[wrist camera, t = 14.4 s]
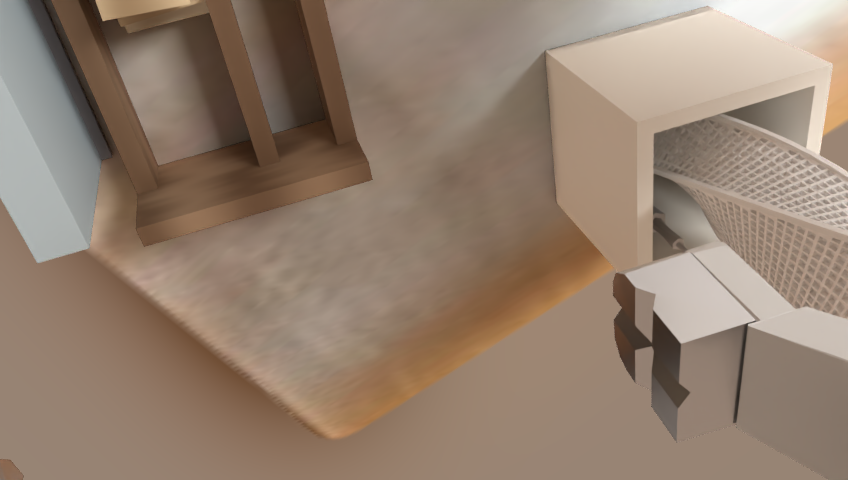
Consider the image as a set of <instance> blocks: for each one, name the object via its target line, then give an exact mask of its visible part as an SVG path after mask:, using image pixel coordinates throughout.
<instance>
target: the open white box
mask: <svg viewBox="0 0 848 480" xmlns="http://www.w3.org/2000/svg"><path fill="white" fill-rule="evenodd" d="M545 57H546V70H547V83H548V96H549V110H550V123H551V136H552V149H553V162H554V175H555V188H556V201H557V204H558V205H559V206H560V207H561V208H562V209H563V211H564V212H565V213H566V214H567V215H568V216H569V217H570V218H571V220H572V221H573V222H574V223H575V224H576V225H577V226H578V228H579V229H580V230H581V231H582V232H583V233H584V234H585V235H586V237H587V238H588V239H589V240H590V241H591V242H592V243H593V245H594V246H595V247H596V248H597V249H598V250H599V251H600V252H601V254H602V255H603V256H604V257H605V258H606V259H607V260H608V262H609V263H610V264H611V265H612V266H613V267H614V268H615V269H616V270H617V272H620V271H623V270H626V269H630V268H633V267H636V266H639V265H643V264H646V263H649V262H652V261H655V260H659V259H662V258H665V257H668V256H671V255H675V254H678V253H683V252H682V251H681V250H680V249H673V248H672V247H671V246H670V245H669V243H668V242H667V241H666V240H665V238H664V237H663V236H662V235H661V234H659V233H658V232H656V233H655V232H653V205H654V206H655V207H656V208H657V209H659V210H660V211H661V212H663V213H664V214H665V222H666V225H667V226H668V227H669V228H670V229H671V230H672V231H673V232H675V233H676V234H677V235H679V236H680V237H681V238H682V239H684V246H685V247H686V248H687V249H688V250H689V249H692V248H695V247H698V246H702V245H705V244H708V243H711V242H714V241H719V239H718V238H717V236H716V234H715V233H714V231H713V229H712V227H711V226H710V224H709V222H708V220H707V218H706V217H705V215H704V213H703V211H702V209H701V207H700V206H699V204H698V203H697V202H696V201H695V200H694V199H693V198H692V197H691V196H690V195H689V194H688V193H687V192H686V191H685V190H684V189H683V188H682V187H680V186H679V185H678V184H677V183H675V182H674V181H673V180H670V179H668V178H665V177H662V176H660V175H657V174H654V173H653V156H654V133H658V132H661V131H664V130H668V129H671V128H674V127H678V126H681V125H684V124H688V123H691V122H694V121H698V120H701V119H704V118H708V117H711V116H714V115H718V114H724V115H727V116H731V117H734V118H737V119H739V120H742V121H745V122H747V123H750V124H753V125H756V126H758V127H761V128H763V129H766V130H768V131H770V132H773V133H775V134H777V135H780V136H782V137H784V138H787V139H789V140H791V141H793V142H795V143H797V144H799V145H801V146H803V147H805V148H807V149H809V150H811V151H813V152H815V153H817V154H818V155H819V154H820V147H821V141H822V134H823V127H824V121H825V114H826V108H827V101H828V94H829V88H830V81H831V74H832V68H833V64H832V63H830V62H828V61H825V60H823V59H821V58H819V57H817V56H815V55H813V54H810V53H808V52H806V51H804V50H802V49H800V48H797V47H795V46H793V45H791V44H789V43H787V42H785V41H782V40H780V39H778V38H776V37H774V36H772V35H769V34H767V33H765V32H763V31H761V30H759V29H757V28H754V27H752V26H750V25H748V24H746V23H744V22H741V21H739V20H737V19H735V18H733V17H731V16H728V15H726V14H724V13H722V12H720V11H718V10H716V9H713V8H711V7H709V6H706V7H702V8H698V9H695V10H691V11H687V12H684V13H680V14H677V15H673V16H669V17H666V18H662V19H659V20H655V21H651V22H648V23H644V24H640V25H637V26H633V27H630V28H626V29H622V30H619V31H615V32H612V33H608V34H604V35H601V36H597V37H594V38H590V39H586V40H583V41H579V42H575V43H572V44H568V45H565V46H561V47H557V48H554V49H550V50H547V51H545Z"/></svg>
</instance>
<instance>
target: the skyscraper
mask: <svg viewBox="0 0 848 480" xmlns="http://www.w3.org/2000/svg"><path fill="white" fill-rule="evenodd" d="M653 173H654V174H657V175H660V176H662V177H665V178H668V179H670V180H673V181H674V182H675V183H677V184H678V185H679V186H680V187H682V188H683V189H684V190H685V191H686V192H687V193H688V194H689V195H690V196H691V197H692V198H693V199H694V200H695V201H696V202H697V203H698V204H699V206H700V207H701V209H702V211H703V213H704V215H705V217H706V218H707V220H708V222H709V224H710V226H711V227H712V229H713V231H714V233H715V234H716V236H717V238H718V239H719V241H720V242H723V243H725V244H727V245H728V246H729V247H730V248H731V249H732V250H733V251H734V252H735V253H736V254H737V255H738V256H739V257H741V258H742V259H743V260H744V261H745V262H746V263H747V264H748V265H749V266H750V267H751V268H752V269H753V270H754V271H756V272H757V273H758V274H759V275H760V276H761V277H762V278H763V279H764V280H765V281H766V282H767V283H768V284H769V285H771V286H772V287H773V288H774V289H775V290H776V291H777V292H778V293H779V294H780V295H781V296H782V297H783V298H784V299H785V300H787V301H788V302H789V303H790V304H791V305H792V306H793V307H794V308H795V309H799V308H802V307H805V306H807V307H810V308H813V309H816V310H819V311H823V312H826V313H829V314H832V315H835V316H838V317H841V318H845V319H848V172H847V171H845V170H844V169H842V168H841V167H839V166H838V165H836V164H834V163H833V162H831V161H829V160H827V159H825V158H823V157H822V156H820V155H818V154H817V153H815V152H813V151H811V150H809V149H807V148H805V147H803V146H801V145H799V144H797V143H795V142H793V141H791V140H789V139H787V138H784V137H782V136H780V135H777V134H775V133H773V132H770V131H768V130H766V129H763V128H761V127H758V126H756V125H753V124H750V123H747V122H745V121H742V120H739V119H737V118H734V117H731V116H727V115H724V114H718V115H714V116H711V117H708V118H704V119H701V120H698V121H694V122H691V123H688V124H684V125H681V126H678V127H674V128H671V129H668V130H664V131H661V132H658V133H654V156H653ZM653 232H655V233H656V232H658V233H659V234H661V235H662V236H663V237H664V238H665V240H666V241H667V242H668V243H669V245H670V246H671V247H672V248H673V249H680V250H681V251H682V252H684V251H686V250H688V249H687V248H686V247H685V246H684V239H682V238H681V237H680V236H679V235H677V234H676V233H675V232H673V231H672V230H671V229H670V228H669V227H668V226H667V225H666V222H665V214H664V213H663V212H661V211H660V210H659V209H657V208H656V207H655V206H654V205H653Z"/></svg>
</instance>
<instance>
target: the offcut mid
mask: <svg viewBox="0 0 848 480" xmlns="http://www.w3.org/2000/svg"><path fill="white" fill-rule="evenodd" d="M203 1H204V0H190V4H188V5H183V6H178V7H173V8H167V9H162V10H157V11H152V12H147V13H142V14H137V15H132V16H127V17H121V18H117V20H118V22H119V24H120V26H121V27H123V26H126V25H129V24H132V23H135V22H139V21H142V20H145V19H148V18H151V17H155V16H158V15H161V14H164V13H168V12H171V11H174V10H177V9H180V8H184V7H187V6H190V5H193V4H196V3H200V2H203Z"/></svg>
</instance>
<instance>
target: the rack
mask: <svg viewBox="0 0 848 480" xmlns="http://www.w3.org/2000/svg"><path fill="white" fill-rule="evenodd" d="M51 1H52V4H53V6H54V8H55V10H56V13H57V15H58V17H59V19H60V22H61V24H62V26H63V28H64V31H65V33H66V35H67V37H68V40H69V42H70V44H71V46H72V49H73V51H74V53H75V55H76V57H77V60H78V62H79V64H80V66H81V69H82V71H83V73H84V75H85V78H86V80H87V82H88V84H89V87H90V89H91V91H92V93H93V96H94V98H95V100H96V102H97V105H98V107H99V109H100V111H101V114H102V116H103V118H104V120H105V122H106V125H107V127H108V129H109V131H110V134H111V136H112V138H113V140H114V143H115V145H116V147H117V149H118V152H119V154H120V156H121V158H122V161H123V163H124V165H125V167H126V170H127V172H128V174H129V176H130V179H131V181H132V183H133V185H134V188H135V190H136V192H137V215H136V230H137V232H138V235H139V237H140V239H141V241H142V243H143V245H144V247H145V246H148V245H152V244H155V243H159V242H162V241H165V240H169V239H172V238H176V237H179V236H182V235H186V234H189V233H193V232H196V231H200V230H203V229H206V228H210V227H213V226H217V225H220V224H223V223H227V222H230V221H234V220H237V219H241V218H244V217H247V216H251V215H254V214H258V213H261V212H264V211H268V210H271V209H275V208H278V207H282V206H285V205H288V204H292V203H295V202H299V201H302V200H306V199H309V198H312V197H316V196H319V195H323V194H326V193H329V192H333V191H336V190H340V189H343V188H347V187H350V186H353V185H357V184H360V183H364V182H367V181H370V180H373V179H372V175H371V171H370V167H369V162H368V160H367V158H366V156H365V154H364V152H363V150H362V148H361V146H360V144H359V143H358V141H357V137H356V133H355V129H354V125H353V120H352V116H351V112H350V108H349V104H348V100H347V96H346V91H345V87H344V83H343V79H342V75H341V71H340V66H339V62H338V58H337V54H336V50H335V46H334V41H333V37H332V33H331V29H330V25H329V21H328V17H327V12H326V8H325V4H324V0H295V4H296V7H297V11H298V15H299V19H300V23H301V26H302V30H303V34H304V38H305V42H306V45H307V49H308V53H309V57H310V61H311V65H312V68H313V72H314V76H315V80H316V84H317V87H318V91H319V95H320V99H321V103H322V106H323V110H324V114H325V118H326V119H325V120H321V121H318V122H314V123H310V124H307V125H303V126H300V127H296V128H292V129H289V130H285V131H282V132H278V133H275V134H272V132H271V129H270V126H269V122H268V119H267V116H266V113H265V110H264V106H263V103H262V100H261V97H260V94H259V90H258V87H257V84H256V81H255V77H254V74H253V71H252V68H251V65H250V61H249V58H248V55H247V52H246V48H245V45H244V42H243V39H242V36H241V32H240V29H239V26H238V23H237V19H236V16H235V13H234V10H233V7H232V3H231V0H205V1H206V4H207V7H208V10H209V13H210V16H211V19H212V22H213V25H214V28H215V32H216V35H217V38H218V41H219V44H220V47H221V50H222V53H223V56H224V59H225V62H226V65H227V68H228V71H229V74H230V77H231V80H232V83H233V86H234V89H235V92H236V95H237V98H238V101H239V104H240V107H241V110H242V113H243V116H244V119H245V122H246V126H247V129H248V132H249V135H250V138H251V140H249V141H246V142H242V143H239V144H235V145H231V146H228V147H224V148H221V149H217V150H213V151H210V152H206V153H203V154H199V155H195V156H192V157H188V158H185V159H181V160H177V161H174V162H170V163H167V164H163V165H160V166H158V165H157V162H156V160H155V157H154V155H153V153H152V150H151V148H150V145H149V143H148V141H147V138H146V136H145V133H144V131H143V129H142V126H141V124H140V121H139V119H138V117H137V114H136V112H135V109H134V107H133V105H132V102H131V100H130V97H129V95H128V93H127V90H126V88H125V85H124V83H123V81H122V78H121V76H120V74H119V71H118V69H117V66H116V64H115V62H114V59H113V57H112V54H111V52H110V50H109V47H108V45H107V42H106V40H105V38H104V35H103V33H102V30H101V28H100V26H99V23H98V21H97V18H96V16H95V14H94V11H93V9H92V6H91V4H90V2H89V0H51Z"/></svg>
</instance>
